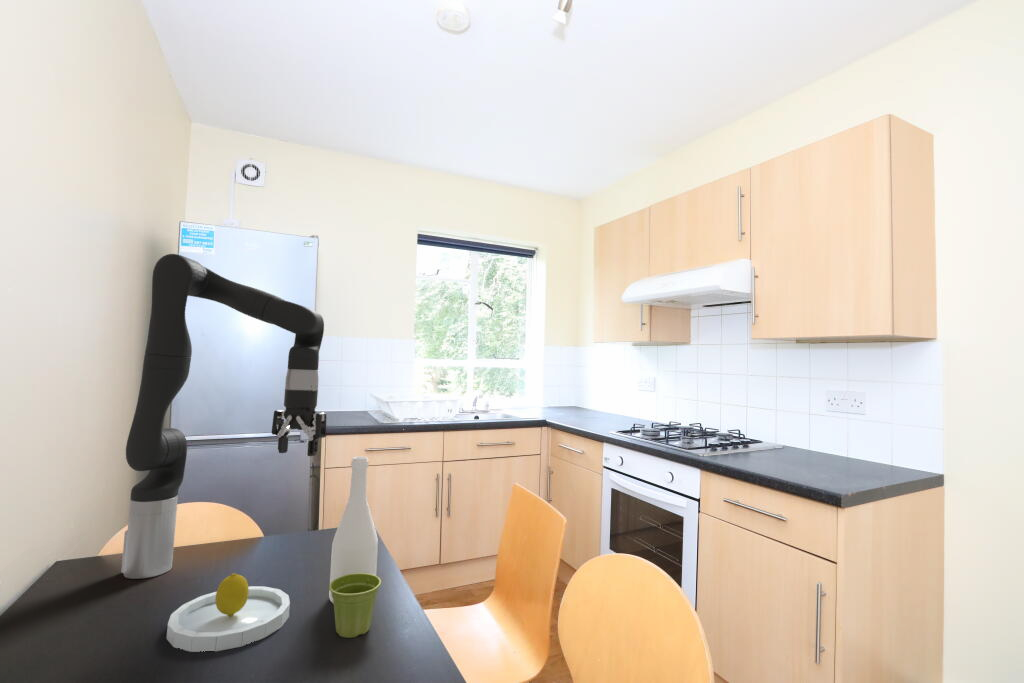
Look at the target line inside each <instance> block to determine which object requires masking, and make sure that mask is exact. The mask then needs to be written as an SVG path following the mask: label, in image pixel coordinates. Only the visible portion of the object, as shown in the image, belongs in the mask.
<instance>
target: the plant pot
mask: <svg viewBox="0 0 1024 683" xmlns="http://www.w3.org/2000/svg"><path fill="white" fill-rule="evenodd" d="M381 584H382V580H381V578H380V577H379V576H377V574H376V575H373V574H368V573H355V574H348V575H344V576H341V577H339V578H336V579H335V580H333V581H332V582H331V583H330V582H329V586H328V587H329V588H328V590H329V589H330V591H331V593H332V598H333V602H334V604H333V610H334V622H335V632H336V633H337V634H338V636H340V637H342V638H347V639H348V638H350V639H351V638H353V639H354V638H356V637H358V636H360V635H365V634H366V633H367V632H368V631H369V630H370V628H371V623H372V617H373V611H374V607H375V600H376V596H377V593H378V592H379V591H378V590H379V587H380V586H381Z"/></svg>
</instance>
